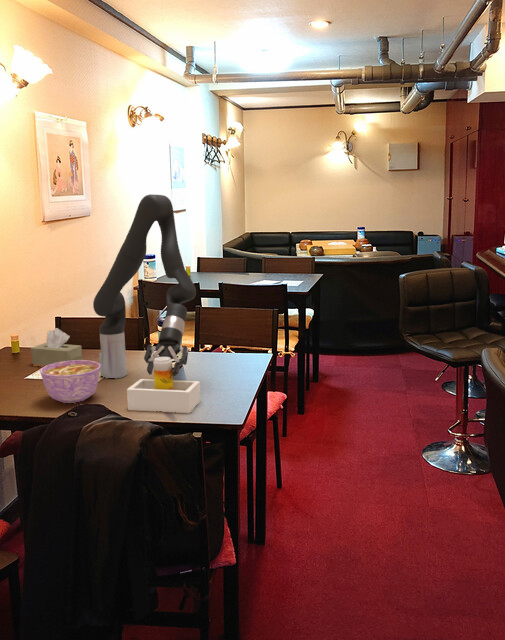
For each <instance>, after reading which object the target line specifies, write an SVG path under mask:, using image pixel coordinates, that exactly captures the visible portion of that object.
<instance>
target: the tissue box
mask: <svg viewBox="0 0 505 640" xmlns="http://www.w3.org/2000/svg"><path fill="white" fill-rule="evenodd" d="M70 336H71V335H68V334H67V333H65V332H64V331H63V330H61V329H59V328H57V327H55V328H54V330H48V331H47V335H46V342H44V343H42V344H41V343H40V344H39V345H35V346H32V347H30V356H31V365H32V364H38V365H50V364H53V363H58V362H63V361H72V360H83V350H82V345H78V344H67V342H68V340H69V339H70ZM65 343H66V344H65Z"/></svg>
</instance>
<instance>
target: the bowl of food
mask: <svg viewBox="0 0 505 640" xmlns="http://www.w3.org/2000/svg"><path fill="white" fill-rule="evenodd" d="M100 367H101V365H100V362H98V361H94V360H86V359H82V360H72V361H63V362H58V363H53V364H50V365H47V366H45V367H40V370H39V373H40V376H41V378H42V382H43V384H44V386H45V387H44V388H45V389H46V392H47V394H48V395H49V397H50V398H51V399H53V400H55V401H58V402H61V403H62V402H63V403H62V404H65V403H74V404H76V403H75V402H79V403H81V402H80V401H82V402H84V401H85V400H86V399H89V398H90V397H91V396H92V395H94V394H95V392H96V391H97V386H98V384H99V379H100Z"/></svg>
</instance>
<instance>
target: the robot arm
mask: <svg viewBox="0 0 505 640" xmlns="http://www.w3.org/2000/svg"><path fill="white" fill-rule="evenodd" d="M155 222H157V224H158V226H159V229H160V230H159V231H160V234H161V244H160V258H161V263H162V266H163V269H164V273H165V276H166V278H168V279H175V280H176V281H177V284H175V285H171V286H170V287H169V288H168V289H167V291H166V313H165V316H164V320H163V323H162V324H161V325H162V326H161V329H160V333H159V337H158V342H157V344H156V346H154V345H152V344H148V345H147V347H146V350H145V353H144V356H143V359H144V362H145V363H146V364H147V367H146V372H147V373H148V374H149V375H151V376H152V375H153V372H154V365H153V362H154V359H155V358H157V357H170V358H171V360H172V359H173V360H174V362H175V363H174V365H173V368H172V370H173V377H174V376H175V377H176V376H177V375H179V373H180V368H181V366H182V365H184V366H185V365H186V366H187V364H188V363H187V362H188V357H189V349H188V346H187V345H183V346H181V344H182V341H183V336H184V332H185V323H186V318H187V315H188V310H187V307H186V306H185V305H183V304H185V303H187V302H190V301H192V300H194V299H195V297H196V295H197V289H196V286H195V283H194V282H193V280H192V278H191V277H190V276H189V274H188V272H187V271H186V269H185V264H184V262H183V259H182V258H183V257H182V254H181V251H180V247H179V242H178V236H177V229H176V221H175V212H174V207H173V203H172V201H171V199H170V198H169V197H168V196H166V195H162V194H146V195H144V196H143V197H142V198H141V200H140V201H139V204H138V206H137V209H136V211H135V214H134V217H133V221H132V224H131V226H130V228H129V230H128V232H127V235H126V237H125V239H124V241H123V243H122V245H121V247H120V248H119V251H118V252H117V255H116V258H115V260H114V262H113V264H112V267H111V268H110V270H109V272H108V274H107V276H106V278H105V280H104V282H103V284H101V286H100V288H99V289H98V291H97V293H96V295H95V297H94V298H93V302H92V303H93V305H92V307H93V311H94V313H95V314H96V315H97V316H99V317H104V320H103V322H102V323H100V325H99V328H98V329H99V331H98V333H99V342H100V352H99V353H98V359H99V360H98V361H99V362H98V363H99V364H100V365H101V367H100V373H99V377H100V376H103V377H102V378H104V377H105V378H104V379H108V378H115V379H120V378H124V377H126V376H127V375H128V373H127V372H128V371H127V359H126V357H127V355H126V354H127V353H126V341H125V340H126V339H125V326H126V324H127V323H126V322H127V321H126V320H127V319H126V309H127V308H126V307H127V306H126V299H125V297H124V295H123V293H122V292H121V291H122V290H123V288H124V287H125V286H126V285H127V284H128V283H129V282H130V281H131V279H132V278H133V277H135V276H136V274H137V272H138V271H139V270H140V268H141V266H142V264H143V262H144V260H145V258H146V255H147V238H148V234H149V232H150V230H151V228H152V226H153V224H154V223H155ZM180 352H181V358H180V359H179V357H178V356H177V355H179V353H180Z"/></svg>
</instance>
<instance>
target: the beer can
mask: <svg viewBox="0 0 505 640" xmlns="http://www.w3.org/2000/svg"><path fill="white" fill-rule="evenodd" d="M153 365H154V367H153V379H154V384H155V389H160V390H173V380H174V375H173V360H172V359H171V358H170V357H158V356H157V358H155V359H154V362H153Z"/></svg>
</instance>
